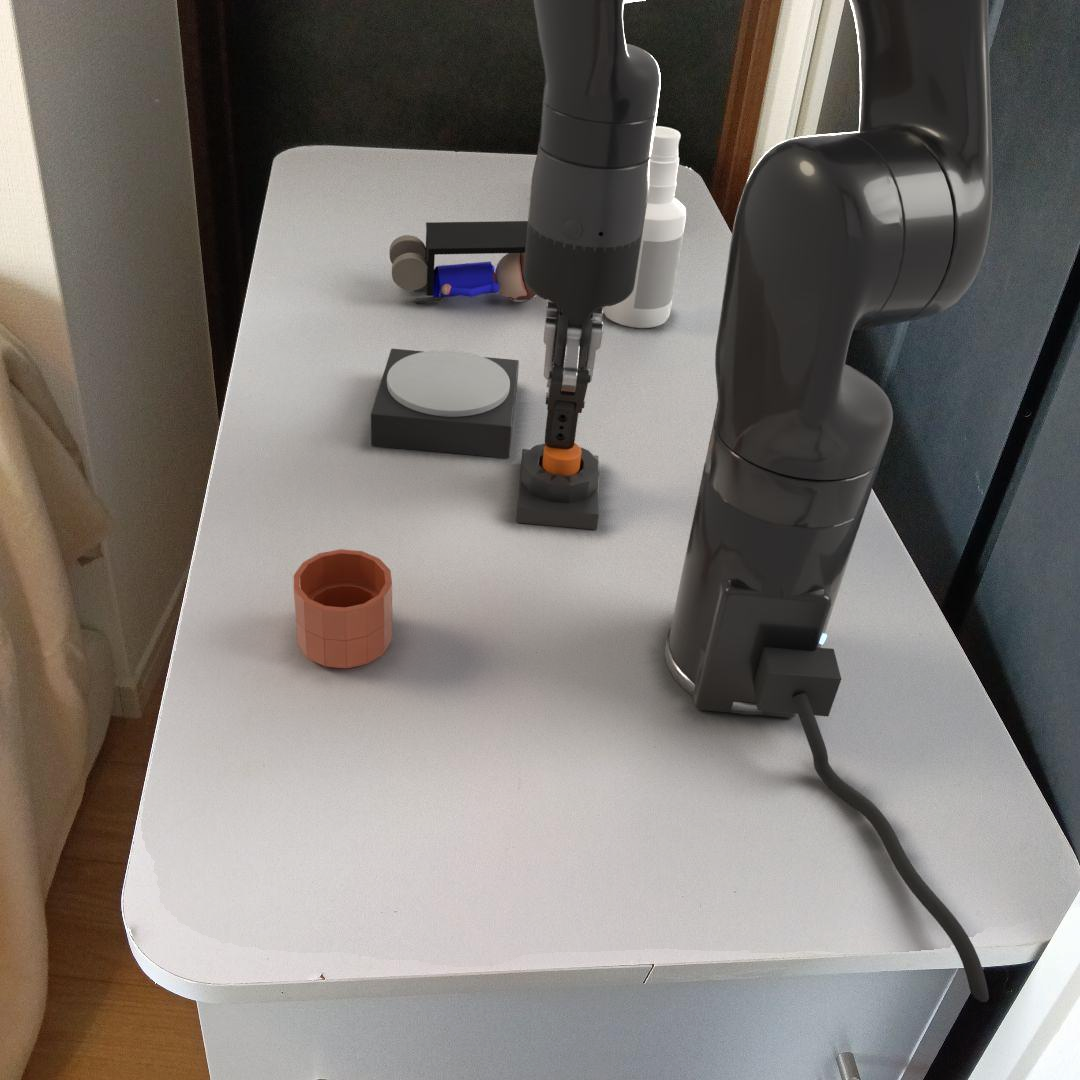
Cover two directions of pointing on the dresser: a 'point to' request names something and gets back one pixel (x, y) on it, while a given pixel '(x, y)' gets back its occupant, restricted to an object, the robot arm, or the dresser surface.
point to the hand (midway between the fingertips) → (559, 442)
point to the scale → (446, 403)
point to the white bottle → (656, 240)
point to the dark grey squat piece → (558, 492)
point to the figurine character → (463, 279)
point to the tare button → (562, 460)
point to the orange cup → (343, 608)
